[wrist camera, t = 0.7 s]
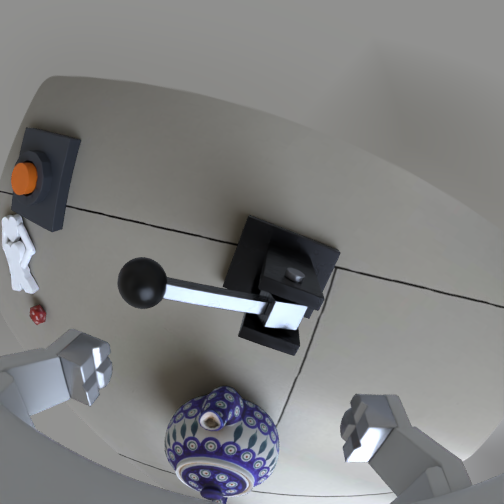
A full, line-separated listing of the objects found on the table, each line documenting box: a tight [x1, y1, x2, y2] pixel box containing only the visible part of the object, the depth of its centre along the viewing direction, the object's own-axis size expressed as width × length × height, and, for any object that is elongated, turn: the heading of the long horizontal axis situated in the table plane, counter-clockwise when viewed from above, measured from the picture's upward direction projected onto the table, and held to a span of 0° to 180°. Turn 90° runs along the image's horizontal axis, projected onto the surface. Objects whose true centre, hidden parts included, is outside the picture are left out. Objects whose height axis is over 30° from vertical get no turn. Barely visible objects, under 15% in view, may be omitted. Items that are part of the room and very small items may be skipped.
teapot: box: [165, 386, 279, 504], centre depth 30 cm, size 25×15×15 cm, turn 174°
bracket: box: [223, 215, 340, 356], centre depth 25 cm, size 10×8×12 cm
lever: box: [118, 257, 308, 330], centre depth 19 cm, size 13×3×3 cm, turn 70°
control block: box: [11, 128, 81, 232], centre depth 29 cm, size 12×10×4 cm
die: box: [30, 305, 46, 325], centre depth 35 cm, size 3×3×3 cm
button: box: [11, 162, 38, 195], centre depth 26 cm, size 4×4×2 cm
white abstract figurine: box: [2, 214, 39, 294], centre depth 33 cm, size 9×12×2 cm
